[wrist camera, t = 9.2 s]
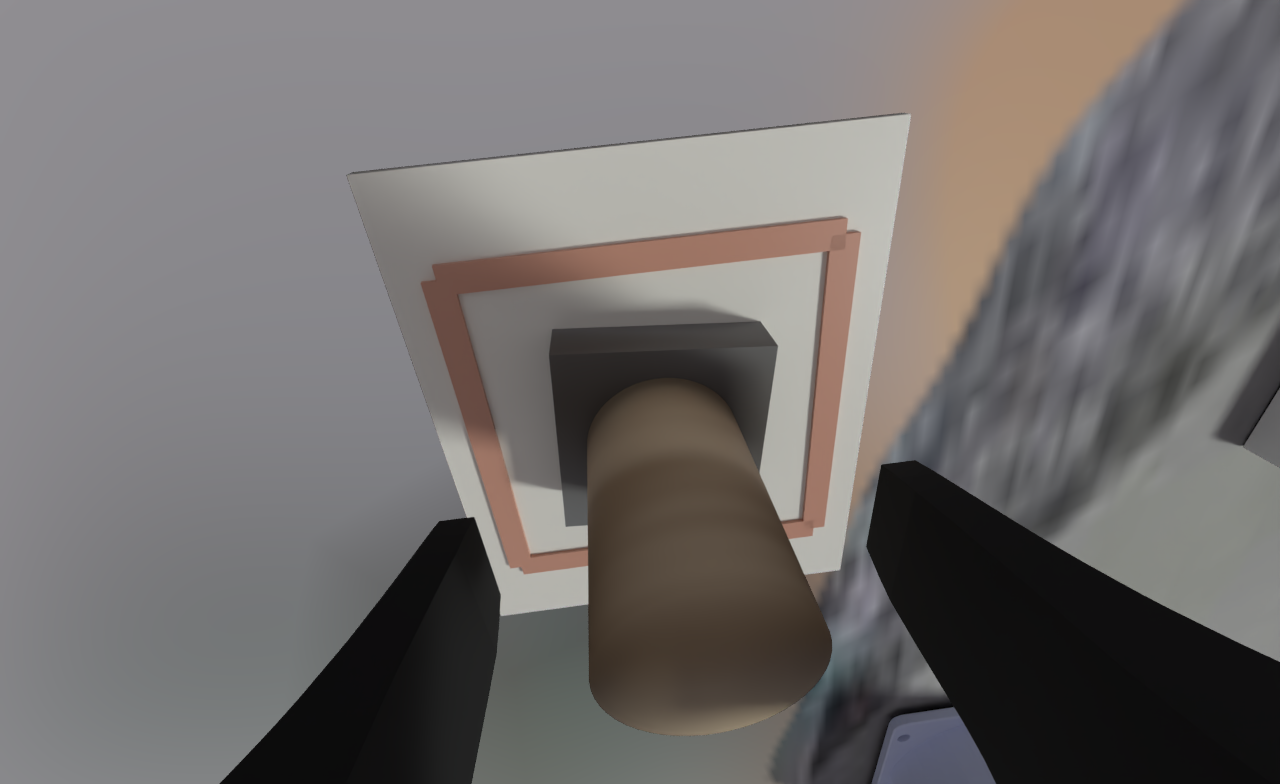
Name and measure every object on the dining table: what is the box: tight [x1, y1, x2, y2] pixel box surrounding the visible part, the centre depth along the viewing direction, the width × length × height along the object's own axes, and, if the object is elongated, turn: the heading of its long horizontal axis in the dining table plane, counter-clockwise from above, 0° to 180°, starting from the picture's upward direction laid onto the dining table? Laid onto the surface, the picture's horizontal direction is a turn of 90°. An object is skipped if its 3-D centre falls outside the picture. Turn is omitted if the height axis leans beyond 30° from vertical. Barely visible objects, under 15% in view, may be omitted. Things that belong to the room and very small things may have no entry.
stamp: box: [549, 321, 832, 736], centre depth 10 cm, size 4×4×6 cm
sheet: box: [347, 113, 911, 616], centre depth 12 cm, size 12×10×1 cm
